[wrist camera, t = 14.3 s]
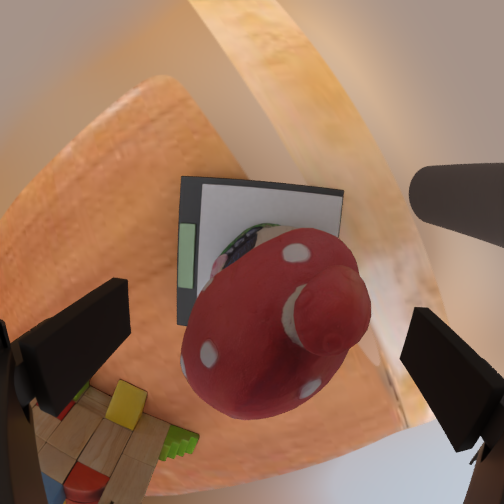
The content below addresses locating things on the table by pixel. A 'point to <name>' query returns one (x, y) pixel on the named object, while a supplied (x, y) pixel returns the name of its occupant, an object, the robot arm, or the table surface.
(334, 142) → the table surface
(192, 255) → the kitchen scale
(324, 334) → the decorative ornament
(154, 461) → the block set
